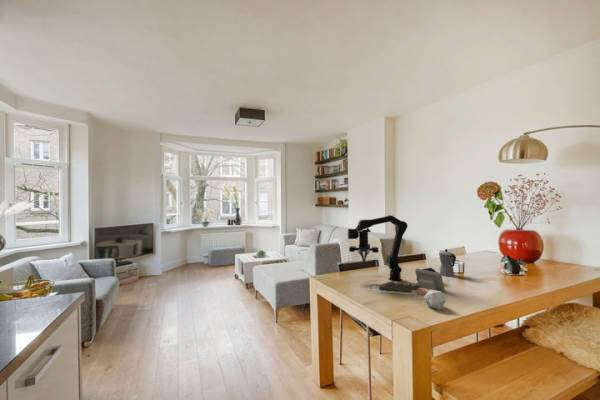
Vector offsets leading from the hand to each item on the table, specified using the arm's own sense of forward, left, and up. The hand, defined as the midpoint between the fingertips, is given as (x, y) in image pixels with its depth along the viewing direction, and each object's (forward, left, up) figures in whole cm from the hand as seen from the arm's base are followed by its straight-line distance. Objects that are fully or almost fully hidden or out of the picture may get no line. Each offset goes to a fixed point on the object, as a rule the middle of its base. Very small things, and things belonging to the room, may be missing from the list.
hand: (364, 262), depth 180 cm
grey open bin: (-34, +22, -12) cm, 42 cm away
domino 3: (-2, +25, -11) cm, 27 cm away
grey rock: (0, +52, -12) cm, 54 cm away
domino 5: (-8, +31, -11) cm, 34 cm away
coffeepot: (-57, +19, -12) cm, 62 cm away
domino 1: (+4, +19, -11) cm, 22 cm away
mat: (-1, +24, -12) cm, 27 cm away
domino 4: (-5, +28, -11) cm, 30 cm away
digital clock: (-23, +31, -12) cm, 41 cm away
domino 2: (+1, +22, -11) cm, 24 cm away
